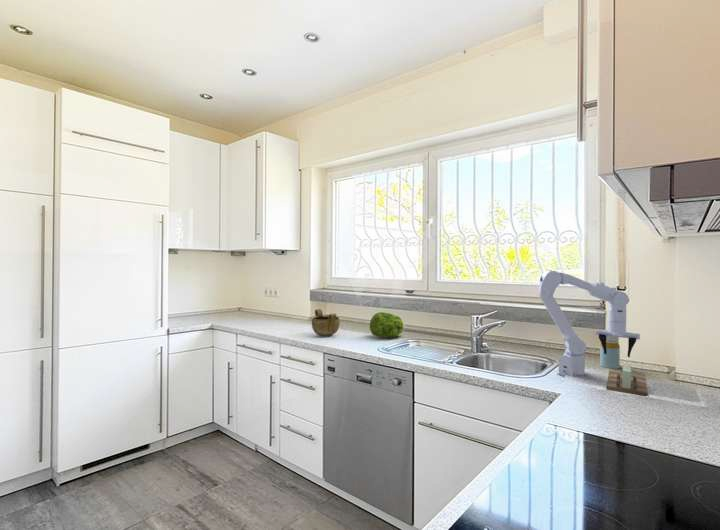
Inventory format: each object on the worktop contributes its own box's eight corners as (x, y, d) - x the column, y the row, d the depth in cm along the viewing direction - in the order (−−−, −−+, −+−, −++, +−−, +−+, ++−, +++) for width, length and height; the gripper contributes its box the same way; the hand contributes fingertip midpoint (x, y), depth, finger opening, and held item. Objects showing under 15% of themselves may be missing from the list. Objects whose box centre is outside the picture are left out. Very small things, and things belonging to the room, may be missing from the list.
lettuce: (408, 343, 226) (412, 318, 230) (379, 335, 216) (384, 309, 221) (392, 342, 240) (396, 318, 244) (364, 334, 230) (369, 309, 234)
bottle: (596, 367, 167) (596, 333, 166) (606, 365, 170) (607, 332, 169) (612, 372, 161) (613, 336, 160) (622, 370, 164) (623, 335, 163)
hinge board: (647, 396, 132) (647, 386, 132) (606, 389, 139) (606, 380, 139) (645, 377, 153) (645, 369, 153) (609, 372, 160) (609, 364, 160)
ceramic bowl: (305, 333, 239) (305, 309, 239) (329, 331, 248) (329, 308, 248) (321, 340, 220) (321, 314, 220) (346, 337, 229) (347, 312, 229)
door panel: (630, 388, 137) (631, 372, 137) (622, 387, 138) (622, 370, 138) (630, 381, 145) (630, 365, 145) (622, 380, 146) (622, 364, 146)
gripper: (595, 320, 153) (594, 354, 153) (640, 324, 144) (639, 360, 144) (596, 318, 158) (596, 350, 159) (640, 321, 150) (639, 356, 150)
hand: (616, 355), depth 152 cm, fingers open, 7 cm apart
